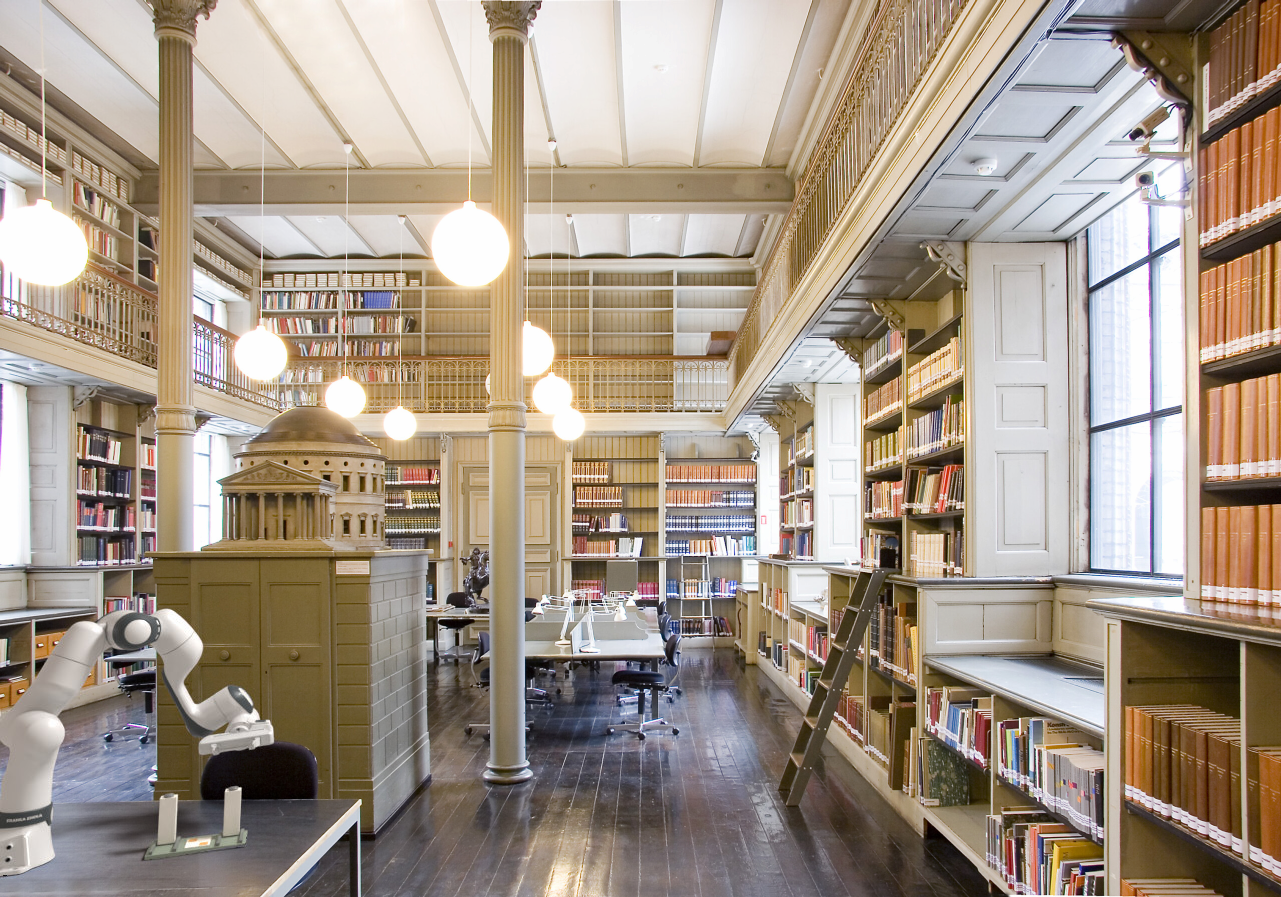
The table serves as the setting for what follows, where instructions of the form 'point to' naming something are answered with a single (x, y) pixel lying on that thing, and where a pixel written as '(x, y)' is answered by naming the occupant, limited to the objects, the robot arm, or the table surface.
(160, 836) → the left switch
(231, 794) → the right switch
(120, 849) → the table surface
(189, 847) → the switch unit
